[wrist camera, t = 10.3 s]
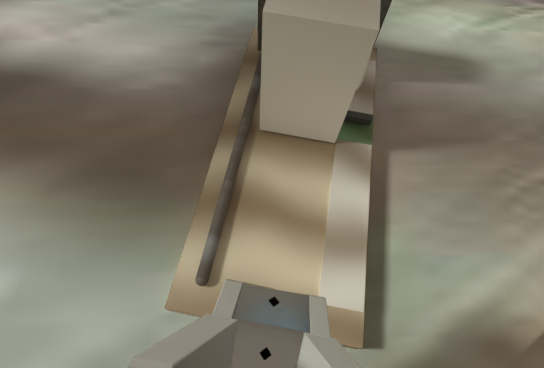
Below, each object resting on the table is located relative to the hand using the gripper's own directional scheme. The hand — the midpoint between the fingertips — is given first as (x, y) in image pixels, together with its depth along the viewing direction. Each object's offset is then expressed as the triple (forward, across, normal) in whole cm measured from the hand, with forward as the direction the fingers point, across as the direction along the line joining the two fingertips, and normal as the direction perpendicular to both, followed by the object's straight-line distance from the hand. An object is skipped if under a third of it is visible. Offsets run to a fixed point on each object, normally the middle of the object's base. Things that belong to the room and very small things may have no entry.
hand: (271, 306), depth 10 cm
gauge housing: (+20, -1, -5) cm, 20 cm away
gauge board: (+18, 0, 0) cm, 18 cm away
